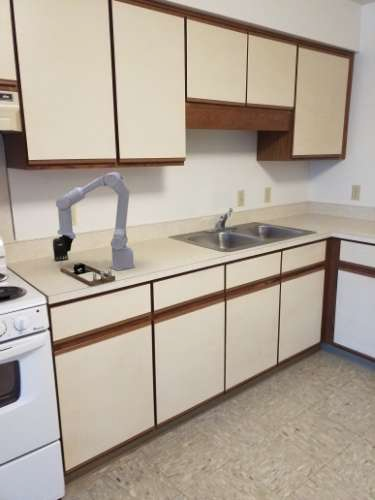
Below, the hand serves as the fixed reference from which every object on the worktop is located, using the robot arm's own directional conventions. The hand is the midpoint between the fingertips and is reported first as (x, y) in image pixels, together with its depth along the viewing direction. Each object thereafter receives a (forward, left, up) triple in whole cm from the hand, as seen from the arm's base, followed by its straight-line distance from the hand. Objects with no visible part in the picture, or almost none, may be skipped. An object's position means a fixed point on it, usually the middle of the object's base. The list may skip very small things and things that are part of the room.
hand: (67, 251), depth 184 cm
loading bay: (0, +18, -8) cm, 19 cm away
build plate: (0, +11, -9) cm, 14 cm away
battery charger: (-3, -14, -8) cm, 17 cm away
